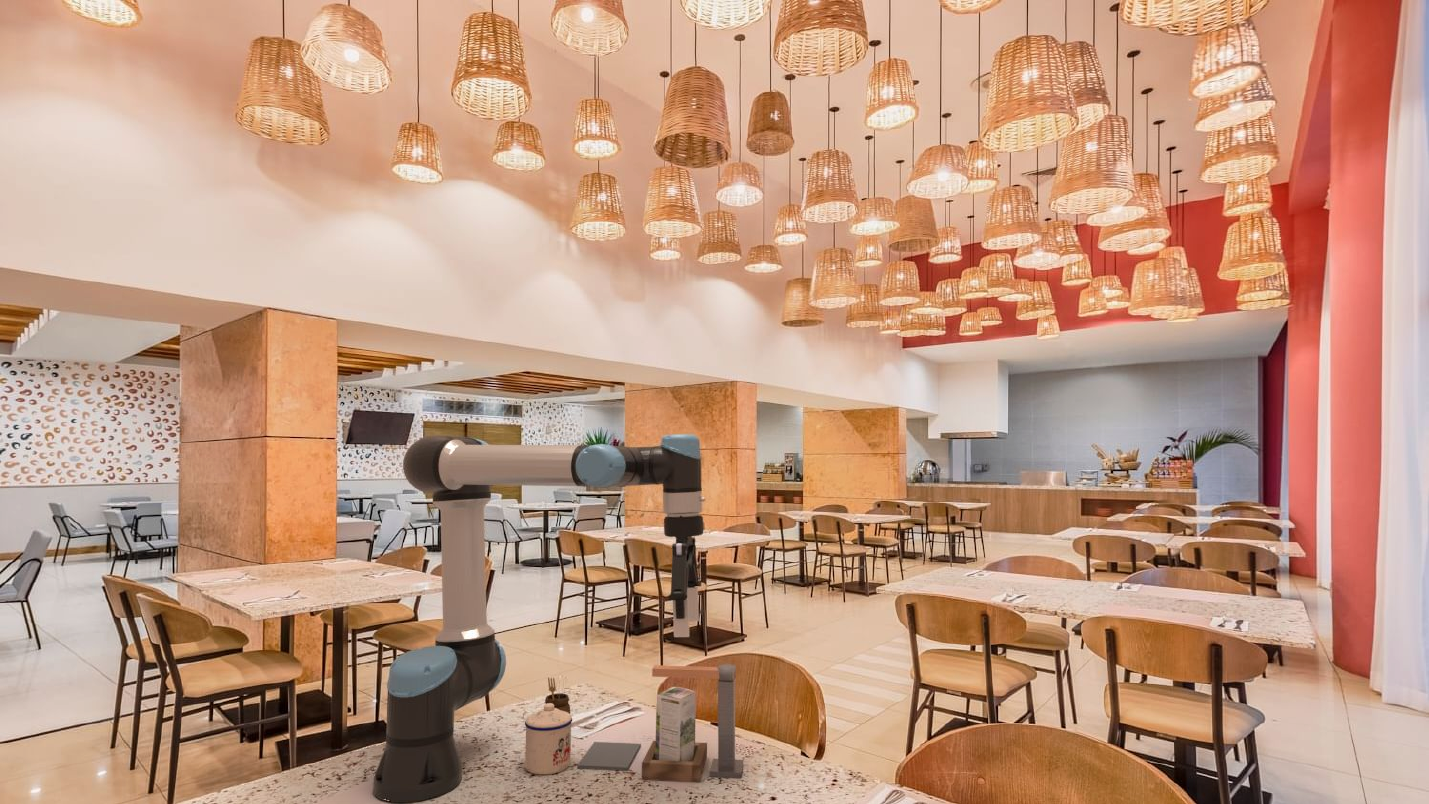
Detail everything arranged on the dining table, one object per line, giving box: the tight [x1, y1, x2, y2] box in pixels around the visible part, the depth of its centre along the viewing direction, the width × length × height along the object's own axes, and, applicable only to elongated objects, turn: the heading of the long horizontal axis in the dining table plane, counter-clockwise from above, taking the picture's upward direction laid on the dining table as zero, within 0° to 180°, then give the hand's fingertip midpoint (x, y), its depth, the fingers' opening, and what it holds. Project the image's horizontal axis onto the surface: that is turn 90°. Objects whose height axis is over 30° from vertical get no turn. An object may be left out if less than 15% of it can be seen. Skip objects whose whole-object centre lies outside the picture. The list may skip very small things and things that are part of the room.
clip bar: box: [651, 663, 737, 680], centre depth 139 cm, size 16×4×2 cm, turn 84°
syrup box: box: [655, 686, 697, 762], centre depth 138 cm, size 6×6×14 cm
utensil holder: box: [544, 675, 571, 715], centre depth 159 cm, size 6×6×12 cm
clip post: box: [709, 678, 744, 779], centre depth 137 cm, size 6×6×17 cm
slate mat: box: [576, 741, 642, 772], centre depth 143 cm, size 10×12×1 cm
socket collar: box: [641, 740, 708, 783], centre depth 138 cm, size 11×11×3 cm
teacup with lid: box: [524, 703, 573, 775], centre depth 141 cm, size 12×9×12 cm
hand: (687, 628), depth 134 cm, fingers open, 13 cm apart
